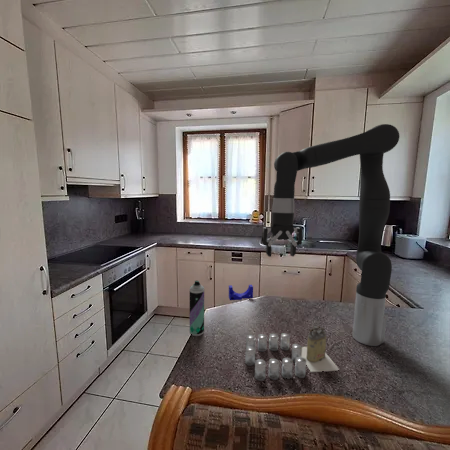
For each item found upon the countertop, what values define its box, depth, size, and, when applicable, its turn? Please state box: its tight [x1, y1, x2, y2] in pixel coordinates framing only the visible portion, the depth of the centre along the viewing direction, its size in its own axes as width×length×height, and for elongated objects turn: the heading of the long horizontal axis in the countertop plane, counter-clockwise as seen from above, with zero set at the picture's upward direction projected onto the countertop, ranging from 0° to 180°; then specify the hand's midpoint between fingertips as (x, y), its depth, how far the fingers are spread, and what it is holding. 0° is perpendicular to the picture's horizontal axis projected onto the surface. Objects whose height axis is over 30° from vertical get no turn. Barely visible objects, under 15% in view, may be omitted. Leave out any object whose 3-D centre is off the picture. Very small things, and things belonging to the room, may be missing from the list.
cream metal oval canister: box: [306, 325, 327, 362], centre depth 81 cm, size 7×4×10 cm, turn 122°
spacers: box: [244, 332, 307, 382], centre depth 79 cm, size 18×16×4 cm
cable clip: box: [228, 284, 254, 301], centre depth 128 cm, size 12×4×6 cm, turn 97°
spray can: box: [189, 280, 205, 337], centre depth 95 cm, size 6×6×20 cm
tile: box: [301, 346, 340, 373], centre depth 81 cm, size 9×12×1 cm
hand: (280, 256), depth 91 cm, fingers open, 8 cm apart
